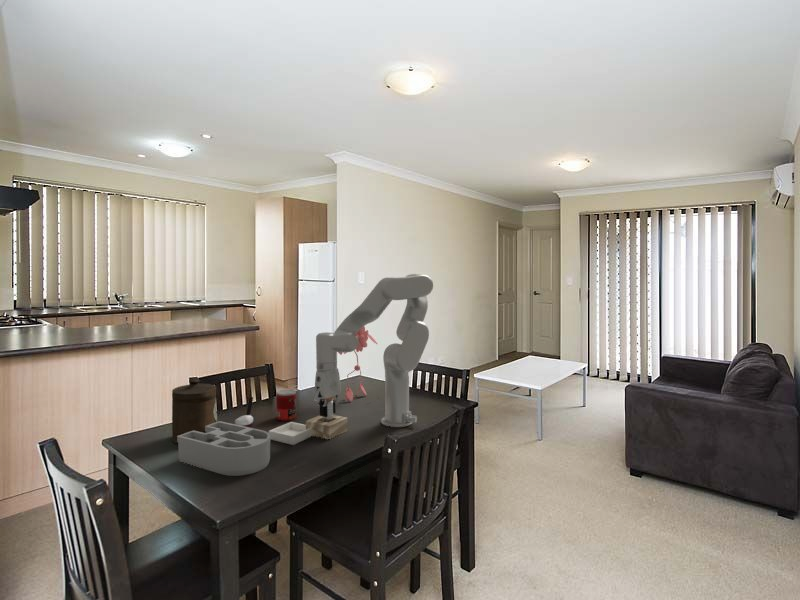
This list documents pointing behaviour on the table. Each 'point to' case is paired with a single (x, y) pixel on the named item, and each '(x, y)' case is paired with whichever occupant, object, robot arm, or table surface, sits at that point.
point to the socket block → (328, 426)
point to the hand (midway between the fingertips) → (327, 413)
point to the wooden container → (193, 407)
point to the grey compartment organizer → (226, 449)
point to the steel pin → (328, 410)
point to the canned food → (286, 405)
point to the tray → (291, 433)
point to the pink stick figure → (362, 339)
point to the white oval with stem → (246, 416)
